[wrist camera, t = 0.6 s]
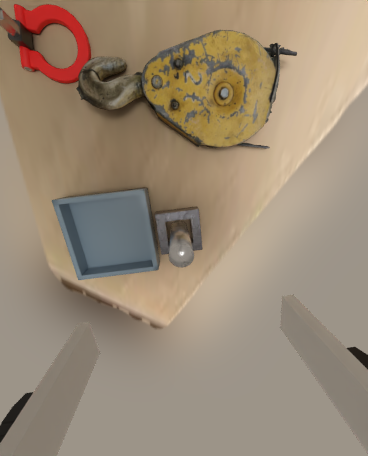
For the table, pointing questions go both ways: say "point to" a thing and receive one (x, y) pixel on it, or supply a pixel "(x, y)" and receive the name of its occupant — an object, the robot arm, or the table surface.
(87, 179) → the table surface
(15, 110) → the table surface
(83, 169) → the table surface
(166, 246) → the bracket
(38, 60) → the tow hook
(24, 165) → the table surface
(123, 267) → the parts tray
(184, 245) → the pin
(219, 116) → the pulley block
